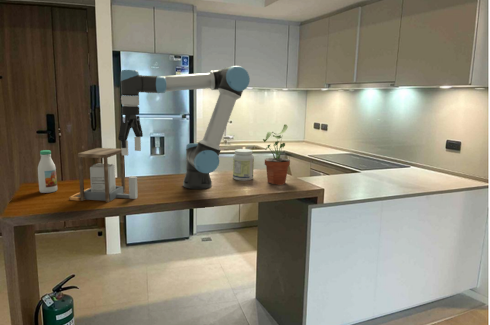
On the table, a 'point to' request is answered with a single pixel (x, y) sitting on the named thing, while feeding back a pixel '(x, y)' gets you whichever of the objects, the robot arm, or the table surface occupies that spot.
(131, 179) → the cradle
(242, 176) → the supplement tub
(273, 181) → the potted plant
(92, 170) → the supplement box
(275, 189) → the table surface
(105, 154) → the tunnel
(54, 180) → the milk bottle
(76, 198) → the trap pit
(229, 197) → the table surface
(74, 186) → the table surface
